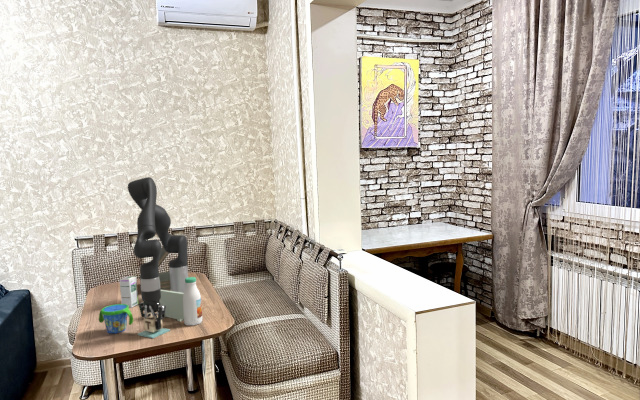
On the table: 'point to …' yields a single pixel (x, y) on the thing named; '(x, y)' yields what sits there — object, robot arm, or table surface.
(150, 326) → the letter cube
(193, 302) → the milk bottle
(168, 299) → the screen
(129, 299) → the syrup box
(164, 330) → the pad
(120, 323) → the snack cup
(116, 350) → the table surface
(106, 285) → the table surface
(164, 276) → the bible
